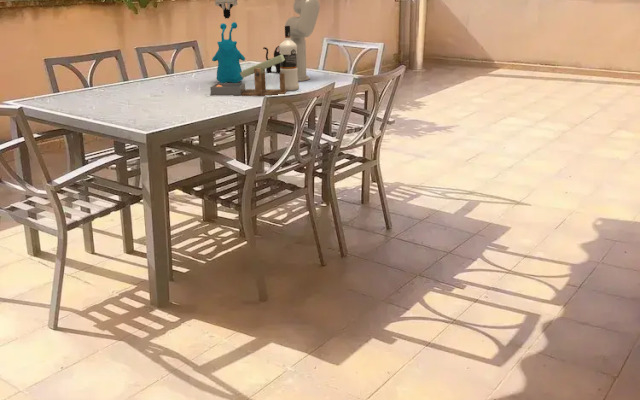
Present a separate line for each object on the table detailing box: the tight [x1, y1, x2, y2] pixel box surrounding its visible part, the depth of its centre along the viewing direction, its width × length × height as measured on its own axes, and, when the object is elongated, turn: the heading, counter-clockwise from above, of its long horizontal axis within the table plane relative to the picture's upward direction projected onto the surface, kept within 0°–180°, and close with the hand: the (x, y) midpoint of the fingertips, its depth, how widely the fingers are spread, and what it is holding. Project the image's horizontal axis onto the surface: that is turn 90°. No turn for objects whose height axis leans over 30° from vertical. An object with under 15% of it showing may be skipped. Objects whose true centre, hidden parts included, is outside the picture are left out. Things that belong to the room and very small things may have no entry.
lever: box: [240, 54, 285, 79], centre depth 324 cm, size 22×16×4 cm
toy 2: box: [262, 45, 281, 74], centre depth 378 cm, size 8×14×15 cm, turn 69°
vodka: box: [278, 25, 300, 92], centre depth 327 cm, size 9×9×30 cm
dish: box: [210, 82, 246, 97], centre depth 324 cm, size 10×14×4 cm
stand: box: [241, 68, 288, 97], centre depth 321 cm, size 20×11×12 cm, turn 84°
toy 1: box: [211, 21, 246, 83], centre depth 351 cm, size 17×18×30 cm
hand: (227, 18), depth 330 cm, fingers closed
